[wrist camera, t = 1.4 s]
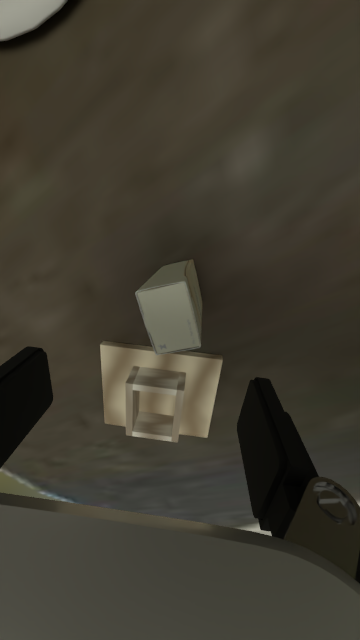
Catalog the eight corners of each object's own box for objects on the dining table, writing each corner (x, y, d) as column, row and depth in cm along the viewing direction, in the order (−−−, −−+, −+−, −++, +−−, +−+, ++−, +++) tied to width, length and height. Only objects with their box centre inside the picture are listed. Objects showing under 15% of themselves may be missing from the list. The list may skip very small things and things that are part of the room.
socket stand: (222, 355, 34) (225, 377, 29) (206, 431, 40) (207, 460, 35) (103, 340, 34) (87, 359, 30) (107, 418, 41) (95, 444, 36)
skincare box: (202, 303, 31) (204, 350, 20) (171, 309, 31) (155, 358, 20) (192, 256, 28) (187, 279, 17) (158, 264, 29) (133, 292, 18)
